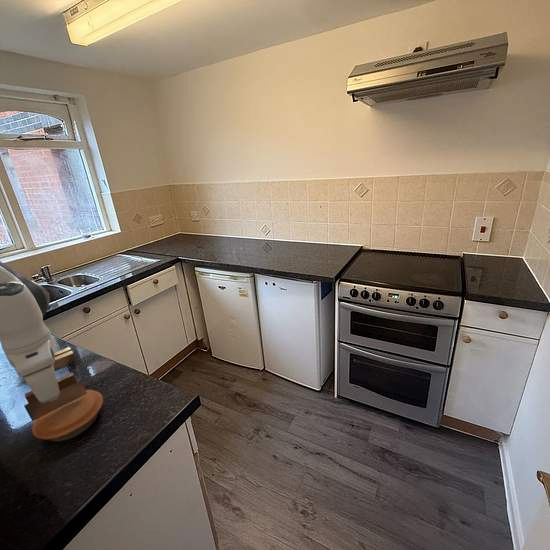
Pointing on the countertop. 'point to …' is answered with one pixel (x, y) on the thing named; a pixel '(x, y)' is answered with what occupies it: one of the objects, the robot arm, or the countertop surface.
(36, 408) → the brown wooden block
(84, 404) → the pie
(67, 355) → the knife stand
